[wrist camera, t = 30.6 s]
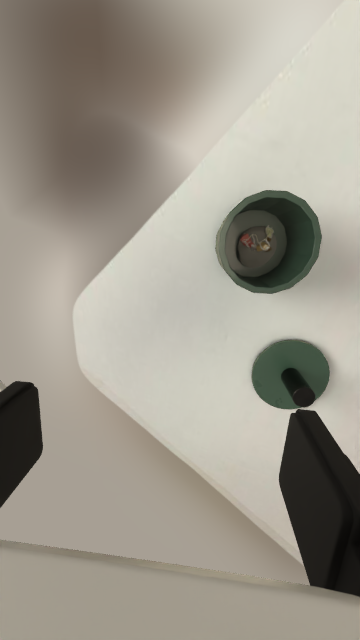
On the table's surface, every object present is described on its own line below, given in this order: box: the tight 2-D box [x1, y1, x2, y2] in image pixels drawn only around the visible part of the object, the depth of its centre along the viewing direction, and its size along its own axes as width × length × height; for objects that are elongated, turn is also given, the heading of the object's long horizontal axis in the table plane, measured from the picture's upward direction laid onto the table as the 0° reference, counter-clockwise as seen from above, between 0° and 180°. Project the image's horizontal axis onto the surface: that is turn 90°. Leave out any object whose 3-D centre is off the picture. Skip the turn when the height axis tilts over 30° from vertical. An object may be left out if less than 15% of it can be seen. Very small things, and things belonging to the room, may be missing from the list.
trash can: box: [215, 190, 322, 294], centre depth 30 cm, size 9×9×10 cm
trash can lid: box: [252, 340, 330, 409], centre depth 36 cm, size 10×10×7 cm
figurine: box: [237, 225, 277, 268], centre depth 32 cm, size 5×4×6 cm
